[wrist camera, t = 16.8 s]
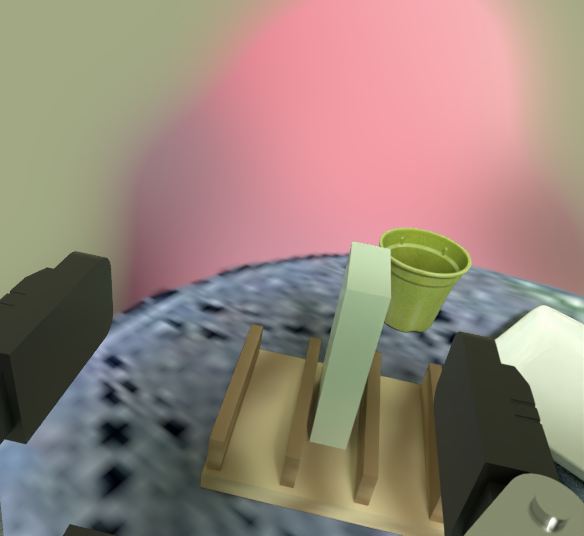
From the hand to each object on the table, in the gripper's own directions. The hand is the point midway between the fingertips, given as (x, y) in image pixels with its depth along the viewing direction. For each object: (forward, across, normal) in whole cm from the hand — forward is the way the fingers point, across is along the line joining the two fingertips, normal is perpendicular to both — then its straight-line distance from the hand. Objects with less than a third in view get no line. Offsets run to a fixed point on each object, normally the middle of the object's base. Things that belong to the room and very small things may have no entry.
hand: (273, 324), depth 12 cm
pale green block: (+22, -4, +24) cm, 33 cm away
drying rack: (+20, -4, +26) cm, 33 cm away
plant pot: (+40, -10, +26) cm, 49 cm away
